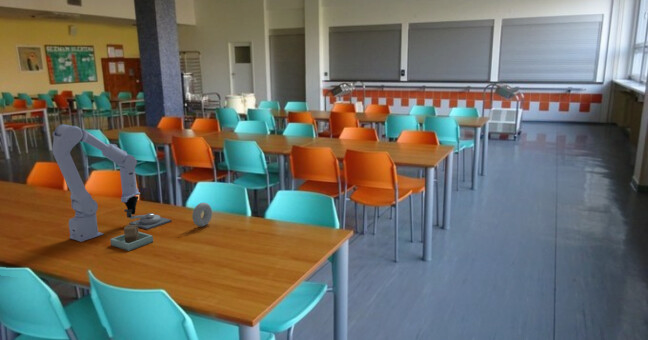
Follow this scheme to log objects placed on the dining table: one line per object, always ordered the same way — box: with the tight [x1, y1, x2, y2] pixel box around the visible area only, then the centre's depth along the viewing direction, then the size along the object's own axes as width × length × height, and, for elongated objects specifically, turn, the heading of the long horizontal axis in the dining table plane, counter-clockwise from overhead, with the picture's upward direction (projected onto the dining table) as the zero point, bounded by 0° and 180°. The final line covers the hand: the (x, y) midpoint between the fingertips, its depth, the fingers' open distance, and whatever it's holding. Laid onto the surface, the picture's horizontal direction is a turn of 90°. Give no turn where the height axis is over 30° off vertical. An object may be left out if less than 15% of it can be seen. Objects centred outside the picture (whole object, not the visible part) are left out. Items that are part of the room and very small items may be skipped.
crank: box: [123, 208, 155, 220], centre depth 202 cm, size 11×3×4 cm, turn 108°
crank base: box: [128, 214, 172, 230], centre depth 204 cm, size 12×12×2 cm
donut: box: [192, 202, 213, 227], centre depth 198 cm, size 10×4×10 cm, turn 151°
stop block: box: [123, 224, 140, 243], centre depth 180 cm, size 4×4×6 cm
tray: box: [109, 231, 154, 252], centre depth 181 cm, size 11×11×2 cm
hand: (132, 214), depth 202 cm, fingers closed
